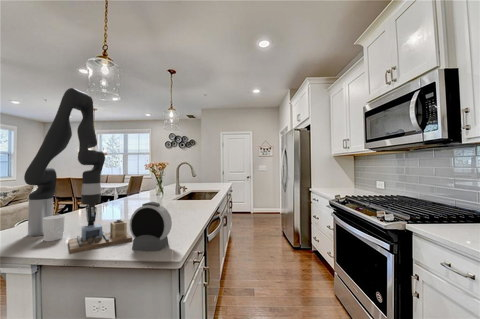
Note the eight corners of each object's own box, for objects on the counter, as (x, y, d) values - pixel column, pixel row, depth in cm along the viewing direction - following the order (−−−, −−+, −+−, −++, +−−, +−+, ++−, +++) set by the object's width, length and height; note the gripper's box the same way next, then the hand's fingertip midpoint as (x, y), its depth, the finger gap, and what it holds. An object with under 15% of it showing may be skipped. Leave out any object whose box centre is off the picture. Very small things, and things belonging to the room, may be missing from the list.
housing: (81, 237, 98) (81, 226, 99) (99, 234, 103) (100, 223, 103) (82, 241, 94) (82, 229, 94) (102, 237, 98) (102, 226, 98)
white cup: (51, 242, 98) (52, 219, 98) (37, 241, 99) (37, 218, 99) (68, 236, 105) (69, 215, 106) (55, 235, 107) (55, 214, 107)
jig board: (68, 243, 97) (68, 223, 97) (124, 233, 111) (124, 216, 111) (70, 253, 85) (70, 230, 85) (132, 240, 99) (132, 221, 99)
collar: (110, 235, 103) (110, 222, 103) (123, 232, 106) (123, 220, 106) (112, 238, 98) (112, 224, 99) (126, 235, 102) (126, 222, 102)
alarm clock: (124, 250, 88) (125, 203, 89) (139, 241, 98) (140, 200, 99) (163, 252, 86) (163, 204, 86) (174, 243, 96) (174, 200, 97)
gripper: (103, 193, 101) (102, 232, 100) (98, 191, 111) (98, 226, 110) (82, 195, 96) (82, 235, 95) (80, 192, 106) (79, 229, 105)
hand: (90, 230), depth 103 cm, fingers closed
